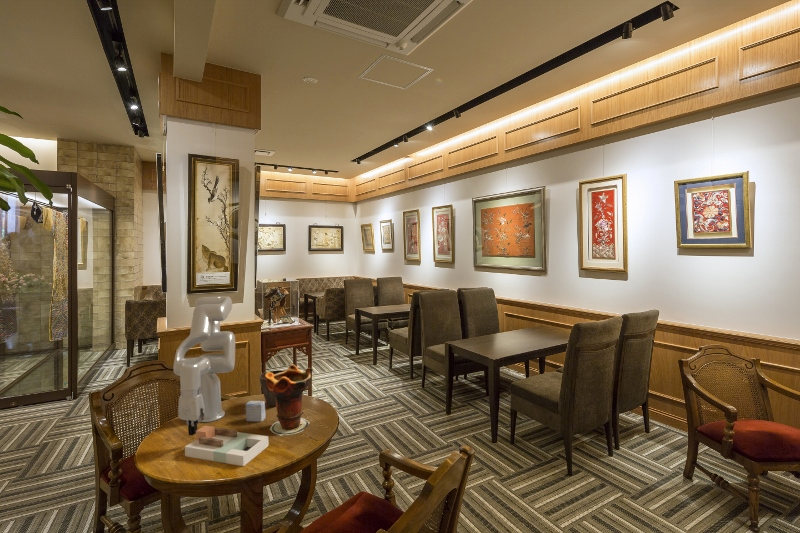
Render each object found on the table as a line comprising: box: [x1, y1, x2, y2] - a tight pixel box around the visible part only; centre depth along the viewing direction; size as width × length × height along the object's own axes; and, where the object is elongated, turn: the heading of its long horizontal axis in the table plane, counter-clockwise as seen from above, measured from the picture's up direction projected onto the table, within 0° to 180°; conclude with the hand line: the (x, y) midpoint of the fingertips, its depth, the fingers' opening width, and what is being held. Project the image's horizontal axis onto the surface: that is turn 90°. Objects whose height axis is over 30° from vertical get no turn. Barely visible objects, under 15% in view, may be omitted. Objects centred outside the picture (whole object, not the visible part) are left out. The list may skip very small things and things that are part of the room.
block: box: [195, 425, 216, 441], centre depth 166 cm, size 5×5×4 cm
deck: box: [184, 431, 270, 467], centre depth 163 cm, size 28×16×4 cm, turn 74°
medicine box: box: [245, 400, 267, 422], centre depth 191 cm, size 8×4×9 cm, turn 84°
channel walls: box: [199, 427, 238, 447], centre depth 164 cm, size 11×9×2 cm
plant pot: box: [259, 369, 285, 408], centre depth 210 cm, size 15×15×16 cm
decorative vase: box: [265, 364, 313, 437], centre depth 184 cm, size 21×23×28 cm
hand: (193, 433), depth 167 cm, fingers closed
